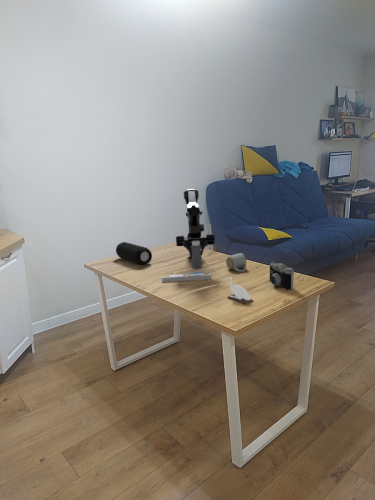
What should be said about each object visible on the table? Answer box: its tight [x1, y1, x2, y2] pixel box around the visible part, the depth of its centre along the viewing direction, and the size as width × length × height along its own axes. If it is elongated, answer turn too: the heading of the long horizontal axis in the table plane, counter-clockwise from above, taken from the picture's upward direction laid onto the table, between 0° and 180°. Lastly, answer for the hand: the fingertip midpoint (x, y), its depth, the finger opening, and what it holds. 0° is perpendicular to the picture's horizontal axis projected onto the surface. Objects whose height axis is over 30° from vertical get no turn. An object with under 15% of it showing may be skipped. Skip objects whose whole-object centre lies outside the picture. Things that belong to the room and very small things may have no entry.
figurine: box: [223, 276, 254, 305], centre depth 145 cm, size 14×4×9 cm, turn 41°
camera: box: [269, 262, 295, 291], centre depth 156 cm, size 15×7×10 cm, turn 22°
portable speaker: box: [115, 241, 153, 266], centre depth 206 cm, size 26×10×10 cm, turn 41°
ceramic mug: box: [225, 252, 247, 273], centre depth 181 cm, size 11×8×8 cm
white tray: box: [161, 271, 212, 283], centre depth 174 cm, size 23×12×2 cm, turn 91°
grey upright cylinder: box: [191, 240, 203, 270], centre depth 171 cm, size 5×5×13 cm
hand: (196, 255), depth 170 cm, fingers closed on grey upright cylinder, 5 cm apart
